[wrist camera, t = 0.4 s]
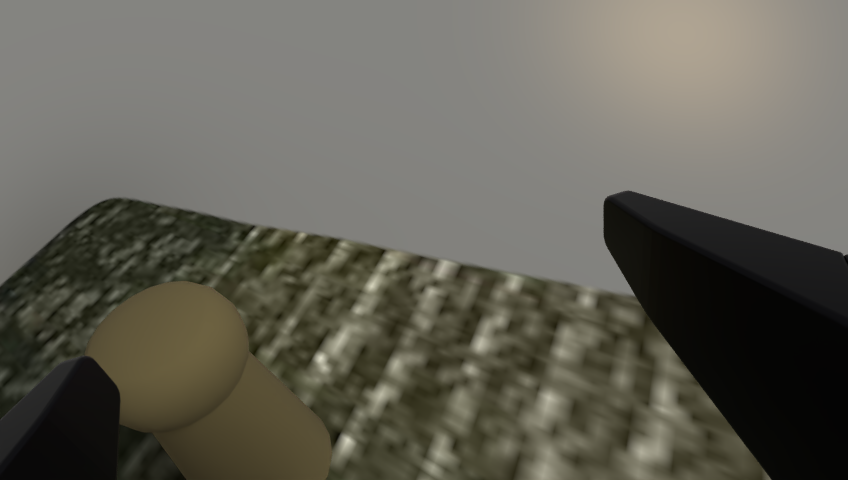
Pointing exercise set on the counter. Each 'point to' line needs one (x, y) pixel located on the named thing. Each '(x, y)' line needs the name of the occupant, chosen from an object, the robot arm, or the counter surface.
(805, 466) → the robot arm
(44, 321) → the counter surface
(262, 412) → the cork
